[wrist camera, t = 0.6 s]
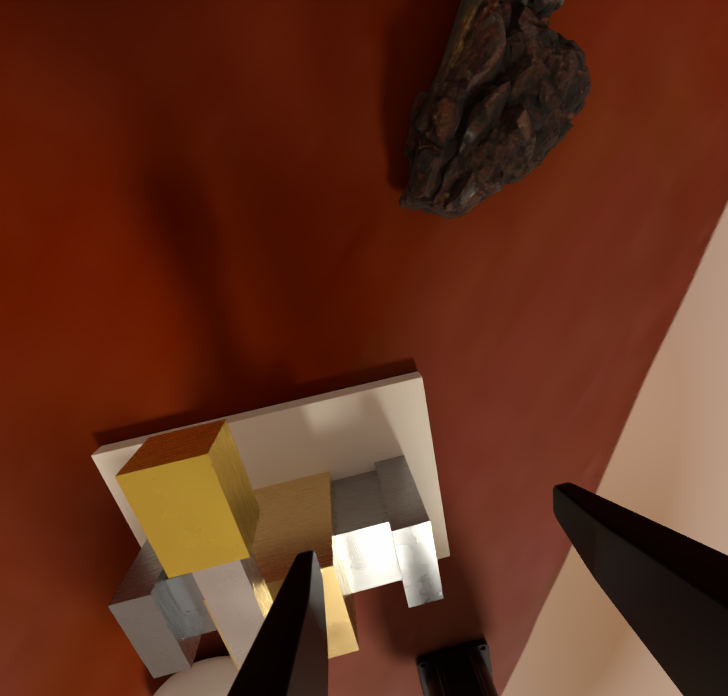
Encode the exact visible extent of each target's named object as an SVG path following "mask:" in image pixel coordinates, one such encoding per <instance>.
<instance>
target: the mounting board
mask: <svg viewBox="0 0 728 696" xmlns="http://www.w3.org/2000/svg"><path fill="white" fill-rule="evenodd" d="M224 419H226V420H227V423H228V426H229V428H230V431H231V433H232V436H233V439H234V441H235V444H236V447H237V449H238V452H239V455H240V457H241V460H242V463H243V465H244V468H245V471H246V473H247V476H248V479H249V481H250V484H251V487H252V489H253V490H255V489H259V488H263V487H267V486H271V485H275V484H279V483H283V482H287V481H291V480H295V479H299V478H303V477H307V476H311V475H315V474H319V473H323V472H327V471H329V472H330V475H331V479H332V481H334V480H338V479H342V478H346V477H349V476H353V475H357V474H361V473H365V472H369V471H373V470H376V466H375V462H378V461H382V460H386V459H390V458H394V457H398V456H402V455H404V456H405V459H406V461H407V464H408V466H409V469H410V471H411V474H412V476H413V479H414V481H415V484H416V487H417V489H418V492H419V494H420V497H421V499H422V502H423V504H424V507H425V509H426V512H427V514H428V517H429V520H430V523H431V529H432V535H433V540H434V546H435V552H436V557H437V559H441V558H444V557H448V556H450V552H449V546H448V539H447V533H446V526H445V520H444V514H443V507H442V501H441V494H440V488H439V482H438V475H437V469H436V462H435V456H434V450H433V443H432V437H431V431H430V424H429V418H428V411H427V405H426V399H425V392H424V386H423V379H422V376H421V375H420V374H419V372H418V371H417V372H412V373H408V374H404V375H400V376H395V377H391V378H387V379H383V380H378V381H374V382H370V383H366V384H362V385H357V386H353V387H349V388H345V389H340V390H336V391H332V392H328V393H323V394H319V395H315V396H311V397H307V398H302V399H298V400H294V401H290V402H285V403H281V404H277V405H273V406H268V407H264V408H260V409H256V410H252V411H247V412H243V413H239V414H235V415H230V416H226V417H222V418H218V419H213V420H209V421H205V422H201V423H197V424H192V425H188V426H184V427H180V428H175V429H171V430H167V431H163V432H158V433H154V434H150V435H146V436H141V437H137V438H133V439H129V440H125V441H120V442H116V443H112V444H108V445H103V446H101V447H100V448H99V449H98V450H97V451H96V452H95V453H93V454H92V455H91V457H92V458H93V460H94V462H95V464H96V466H97V468H98V469H99V471H100V473H101V475H102V477H103V479H104V480H105V482H106V484H107V486H108V488H109V490H110V491H111V493H112V495H113V497H114V499H115V501H116V502H117V504H118V506H119V508H120V510H121V512H122V513H123V515H124V517H125V519H126V521H127V523H128V524H129V526H130V528H131V530H132V532H133V534H134V535H135V537H136V539H137V541H138V543H139V545H140V546H141V548H142V546H143V545H144V543H145V541H146V539H147V537H146V535H145V533H144V531H143V529H142V527H141V525H140V523H139V522H138V520H137V518H136V516H135V514H134V512H133V510H132V508H131V506H130V505H129V503H128V501H127V499H126V497H125V495H124V493H123V491H122V490H121V488H120V486H119V484H118V482H117V480H116V478H115V475H116V474H117V473H118V472H119V471H120V470H121V469H122V467H123V466H124V465H125V464H126V463H127V462H128V461H129V459H130V458H131V457H132V456H133V455H134V454H135V452H136V451H137V450H138V449H139V448H140V447H141V446H142V444H143V443H144V442H145V441H146V440H147V439H148V438H149V437H152V436H156V435H161V434H165V433H169V432H173V431H177V430H182V429H186V428H190V427H194V426H199V425H203V424H207V423H211V422H215V421H220V420H224Z"/></svg>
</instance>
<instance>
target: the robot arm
mask: <svg viewBox="0 0 728 696" xmlns="http://www.w3.org/2000/svg"><path fill="white" fill-rule="evenodd" d="M553 511H554V514H555V517H556V519H557V520H558V522H559V524H560V525H561V527H562V528H563V530H564V531H565V533H566V535H567V536H568V538H569V539H570V541H571V542H572V544H573V546H574V547H575V549H576V550H577V552H578V554H579V555H580V557H581V558H582V560H583V561H584V563H585V565H586V566H587V568H588V569H589V571H590V572H591V574H592V575H593V577H594V578H595V580H596V581H597V582H598V584H599V585H600V586H601V588H602V589H603V590H604V592H605V593H606V595H607V596H608V597H609V598H610V600H611V601H612V602H613V604H614V605H615V606H616V608H617V609H618V610H619V612H620V613H621V614H622V616H623V617H624V618H625V619H626V621H627V622H628V623H629V625H630V626H631V627H632V629H633V630H634V631H635V632H636V634H637V635H638V636H639V638H640V639H641V641H642V642H643V643H644V644H645V646H646V647H647V648H648V650H649V651H650V652H651V654H652V655H653V656H654V658H655V659H656V660H657V661H658V663H659V664H660V665H661V667H662V668H663V669H664V671H665V672H666V673H667V675H668V676H669V677H670V679H671V680H672V681H673V683H674V684H675V685H676V686H677V688H678V689H679V690H680V692H681V693H682V694H683V696H728V555H725V554H723V553H721V552H719V551H717V550H715V549H713V548H710V547H708V546H706V545H704V544H702V543H700V542H697V541H695V540H693V539H691V538H689V537H687V536H685V535H682V534H680V533H678V532H676V531H674V530H672V529H669V528H667V527H665V526H663V525H661V524H659V523H657V522H654V521H652V520H650V519H648V518H646V517H644V516H641V515H639V514H637V513H635V512H633V511H631V510H628V509H626V508H624V507H622V506H620V505H618V504H616V503H613V502H611V501H609V500H607V499H605V498H602V497H600V496H598V495H596V494H594V493H592V492H590V491H587V490H585V489H583V488H581V487H579V486H577V485H575V484H572V483H568V482H567V483H563V484H559V485H555V486H554V488H553ZM417 665H418V670H419V674H420V678H421V683H422V687H423V691H424V696H498V694H497V691H496V689H495V686H494V683H493V678H492V670H491V662H490V653H489V646H488V644H487V642H486V640H484V639H482V640H478V641H474V642H471V643H467V644H464V645H460V646H457V647H453V648H450V649H446V650H443V651H439V652H436V653H432V654H429V655H425V656H422V657H419V658H418V659H417ZM227 696H328V639H327V626H326V613H325V600H324V587H323V578H322V572H321V569H320V566H319V563H318V560H317V557H316V554H315V552H314V550H307V551H303V552H300V553H298V554H297V555H296V557H295V559H294V561H293V563H292V565H291V567H290V569H289V571H288V573H287V575H286V577H285V579H284V581H283V583H282V585H281V587H280V589H279V591H278V593H277V595H276V597H275V599H274V601H273V603H272V605H271V607H270V609H269V611H268V613H267V616H266V618H265V620H264V622H263V624H262V626H261V628H260V630H259V632H258V634H257V636H256V638H255V640H254V642H253V644H252V646H251V648H250V650H249V652H248V654H247V656H246V658H245V660H244V662H243V664H242V666H241V668H240V670H239V672H238V674H237V676H236V678H235V680H234V682H233V684H232V686H231V688H230V690H229V692H228V694H227Z"/></svg>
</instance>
